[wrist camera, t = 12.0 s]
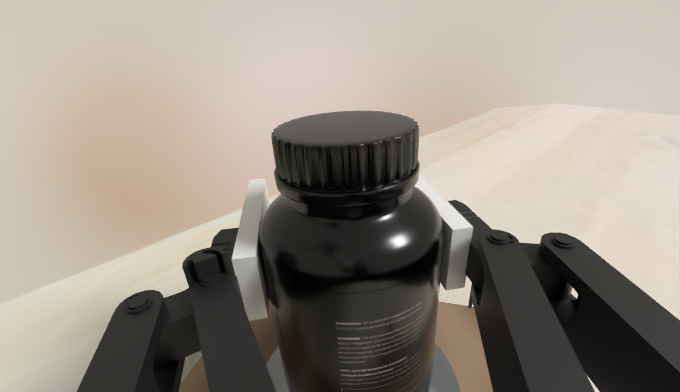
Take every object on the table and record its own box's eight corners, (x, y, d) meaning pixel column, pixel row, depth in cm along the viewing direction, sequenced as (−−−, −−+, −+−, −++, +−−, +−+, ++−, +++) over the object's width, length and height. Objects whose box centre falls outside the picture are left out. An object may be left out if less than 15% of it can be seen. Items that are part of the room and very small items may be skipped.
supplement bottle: (434, 329, 18) (458, 103, 13) (424, 474, 12) (461, 169, 7) (315, 306, 20) (293, 102, 15) (258, 421, 14) (187, 152, 9)
